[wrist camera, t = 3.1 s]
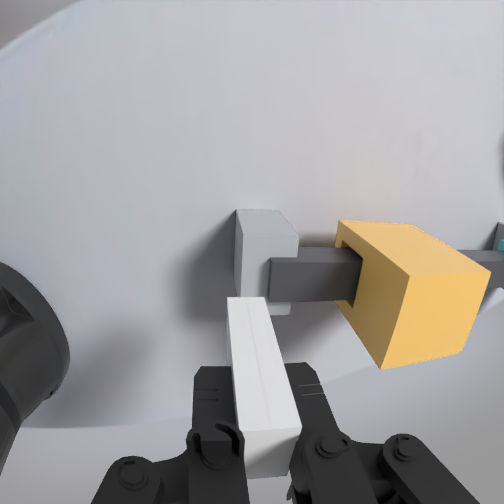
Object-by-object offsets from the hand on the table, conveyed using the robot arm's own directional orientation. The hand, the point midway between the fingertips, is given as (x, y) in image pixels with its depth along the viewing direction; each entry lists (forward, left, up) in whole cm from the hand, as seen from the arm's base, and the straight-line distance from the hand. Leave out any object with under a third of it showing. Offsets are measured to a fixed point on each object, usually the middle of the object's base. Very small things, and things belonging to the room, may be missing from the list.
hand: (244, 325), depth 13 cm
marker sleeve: (+10, 0, -8) cm, 12 cm away
